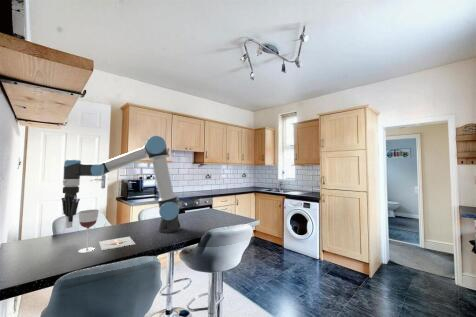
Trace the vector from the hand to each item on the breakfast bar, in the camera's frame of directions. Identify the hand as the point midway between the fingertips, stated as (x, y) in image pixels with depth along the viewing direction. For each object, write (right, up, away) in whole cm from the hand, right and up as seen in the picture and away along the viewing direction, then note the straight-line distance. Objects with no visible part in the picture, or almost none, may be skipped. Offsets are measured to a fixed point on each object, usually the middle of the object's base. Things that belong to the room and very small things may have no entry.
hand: (68, 227), depth 122 cm
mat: (+28, -9, -1) cm, 30 cm away
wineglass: (+18, -8, -11) cm, 23 cm away
